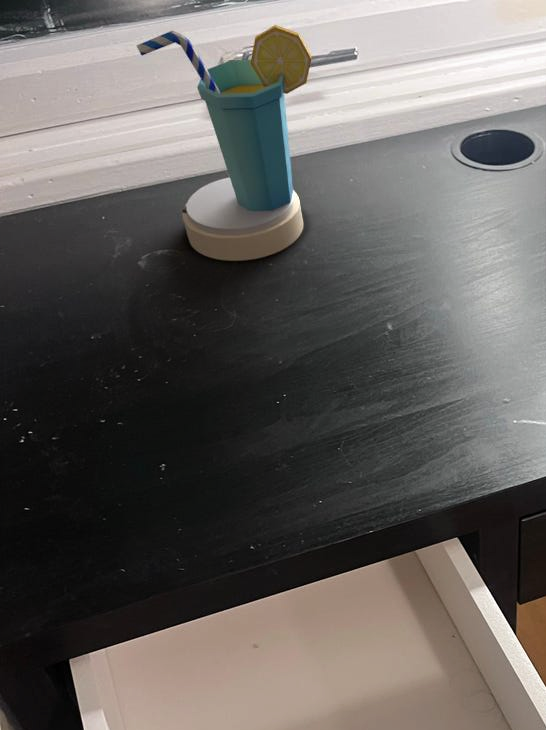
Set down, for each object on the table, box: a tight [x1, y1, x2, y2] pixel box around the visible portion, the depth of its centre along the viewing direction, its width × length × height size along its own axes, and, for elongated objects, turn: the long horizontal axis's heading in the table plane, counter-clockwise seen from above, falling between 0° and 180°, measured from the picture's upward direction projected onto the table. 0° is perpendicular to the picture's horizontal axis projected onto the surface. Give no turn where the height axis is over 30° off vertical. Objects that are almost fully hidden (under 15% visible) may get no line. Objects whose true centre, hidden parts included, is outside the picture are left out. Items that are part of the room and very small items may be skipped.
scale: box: [181, 177, 304, 262], centre depth 94 cm, size 11×11×3 cm
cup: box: [136, 24, 313, 211], centre depth 87 cm, size 14×8×15 cm, turn 112°
